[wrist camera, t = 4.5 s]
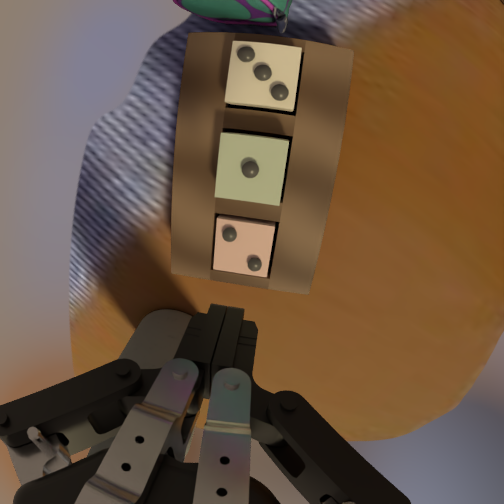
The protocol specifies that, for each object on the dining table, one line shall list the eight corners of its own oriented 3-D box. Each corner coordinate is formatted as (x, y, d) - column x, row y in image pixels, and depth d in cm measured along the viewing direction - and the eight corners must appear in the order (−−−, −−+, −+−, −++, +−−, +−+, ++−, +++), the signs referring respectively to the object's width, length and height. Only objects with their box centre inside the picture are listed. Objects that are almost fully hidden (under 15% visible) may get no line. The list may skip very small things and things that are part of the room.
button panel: (202, 45, 20) (188, 32, 16) (342, 61, 19) (354, 50, 16) (184, 253, 28) (171, 273, 24) (305, 272, 28) (308, 294, 24)
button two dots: (223, 209, 24) (216, 219, 21) (275, 216, 24) (275, 228, 21) (219, 256, 26) (212, 270, 23) (267, 263, 26) (266, 279, 23)
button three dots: (238, 49, 17) (232, 39, 14) (299, 56, 17) (302, 46, 14) (230, 104, 19) (223, 101, 16) (291, 111, 19) (293, 109, 16)
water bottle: (131, 300, 31) (6, 508, 6) (210, 304, 30) (119, 577, 5) (152, 361, 36) (77, 541, 10) (221, 367, 35) (172, 579, 9)
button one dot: (227, 131, 20) (219, 132, 17) (288, 139, 19) (289, 141, 17) (221, 188, 21) (213, 198, 19) (279, 196, 21) (279, 207, 19)
